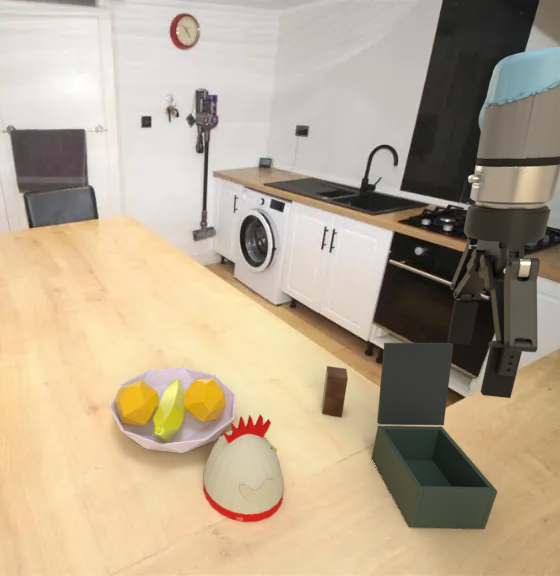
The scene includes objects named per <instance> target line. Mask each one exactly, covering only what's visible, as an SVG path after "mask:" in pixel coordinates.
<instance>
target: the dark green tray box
mask: <svg viewBox="0 0 560 576" xmlns="http://www.w3.org/2000/svg"><path fill="white" fill-rule="evenodd" d="M371 458H372V459H371V461H372V460H373V461H372V463H373V462H374V463H375V465H376V466H375V465H374V466H375V468H376V467H377V468H376V470H377V469H378V470H377V472H378V471H379V472H378V474H379V473H380V474H381V476H382V477H381V476H380V477H381V479H382V478H383V479H382V481H383V480H384V481H383V483H384V482H385V483H384V485H385V484H386V485H387V486H386V485H385V486H386V488H387V487H388V488H387V490H388V489H389V490H388V492H389V491H390V492H391V494H392V495H391V494H390V495H391V497H392V496H393V497H392V499H393V498H394V499H393V501H394V500H395V501H394V502H396V503H397V504H396V503H395V504H396V506H397V505H398V506H397V508H398V507H399V508H398V510H399V509H400V510H399V512H400V511H401V512H400V513H401V515H402V517H403V516H404V517H403V519H404V518H405V519H404V521H405V520H406V521H405V523H406V525H407V526H408V528H411V527H412V528H415V529H416V528H417V529H457V530H458V529H460V530H462V529H463V530H486V527H487V524H488V521H489V518H490V515H491V512H492V510H493V508H494V507H493V506H494V503H495V501H496V497H497V495H498V489H496V488H495V486H494V485H493V484H492V483H491V481H489V479H488V478H487V477H486V476H485V475H484V474H483V472H482V471H481V470H480V469H479V468H478V466H477V465H476V464H475V463H474V462H473V461H472V460H471V458H470V457H469V456H468V455H467V454H466V452H464V450H463V449H462V448H461V447H460V446H459V445H458V443H457V442H456V441H455V440H454V439H453V438H452V436H451V435H450V434H449V433H448V432H447V430H446V429H445V428H444V427H443V426H436V425H377V427H376V431H375V438H374V443H373V448H372V454H371ZM374 463H373V464H374ZM380 474H379V475H380ZM390 492H389V493H390Z"/></svg>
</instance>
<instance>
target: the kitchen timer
mask: <svg viewBox="0 0 560 576" xmlns="http://www.w3.org/2000/svg"><path fill="white" fill-rule="evenodd" d="M271 423H272V422H271V420H270V419H269V418H268V419H267V420H266V421H264V417H263V416H262V414H259V415H258V417H257V420H256V422H255V424H254V421H253V418H252V416H251V414H249V415H248V419H247V422H246V424H245V420H244V418H243V417H242V415H241V416H240V417H239V421H238V425H237V427H236V426H235V425H234V423H232V422H231V423H230V427H231V430H229V431H227V432H226V431H225V430H222V431H223V432H222V434H223V435H220V436H219V437H218V438H217V441H216V442H215V444H214V445H213V447H212V449H211V451H210V454H209V456H208V458H207V461H206V462H205V463H206V464H205V466H204V469H203V492H204V495H205V499H206V500H207V501H208V503H209V505H211V507H212V508H213V509H214V510H215V511H216V512H218V513H219V514H220V515H222V516H224V517H227V518H228V519H231V520H233V521H239V522H242V523H243V522H244V523H251V522H259V521H262V520H266V519H269V518H270V517H271V516H273V514H275V513H277V512H278V510H279V508H280V507H281V505H282V503H283V498H284V497H283V496H284V491H285V490H284V489H285V483H284V476H283V471H282V467H281V464H280V461H279V457H278V455H277V452H278V449H277V448H276V447H275V446H273V445H272V444H271V442H270V441H269V440H268V439H267V437H265V435H266V433H267V432H268V431H269V429H270V426H271Z"/></svg>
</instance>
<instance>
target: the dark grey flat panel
mask: <svg viewBox="0 0 560 576" xmlns="http://www.w3.org/2000/svg"><path fill="white" fill-rule="evenodd" d="M453 350H454V344H453V343H448V342H383V350H382V351H383V353H382V364H381V374H380V385H379V398H378V406H377V407H378V409H377V420H376V423H377V424H378V426H444V425H445V417H446V410H447V401H448V395H449V394H448V393H449V386H450V385H449V384H450V377H451V369H452V359H453V352H454V351H453Z"/></svg>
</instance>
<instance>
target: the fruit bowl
mask: <svg viewBox="0 0 560 576" xmlns="http://www.w3.org/2000/svg"><path fill="white" fill-rule="evenodd" d="M108 408H109V410H110V413H111V414H112V416H113V418H114V421H115V422H116V424H117V427H118V428H119V431H120V432H122V433H124V435H126V436H127V437H129V438H130V439H131V440H133V441H134V442H136V443H137V444H139V446H141V447H142V448H144V449H145V450H152V451H161V452H172V453H179V454H184V453H187V452H189V451H192V450H194V449H197V448H199V447H202V446H206V445H208V444H210V443H213V442H215V441H216V440H218V438H219V437H220V436H221V435H222V434H223V431H222V430H224V431H225V430H226V429H227V428H228V427H229V426H230V425H231V423H232V422H233V421H234V420H235V411H236V393H235V392H234V391H233V390H232V389H231V388H230V387H229V386H228V385H227V384H225V383H224V382H223V381H222V380H221V379H220V378H219V377H217V375H216V374H211V373H209V372H204V371H200V370H197V369H193V368H189V367H186V366H185V367H184V366H180V367H179V366H178V367H169V368H157V369H156V368H155V369H148V370H146V371H143V372H142V373H140V374H138V375H136V376H135V377H132V378H130V379H128V380H126V381H125V382H124V381H123V383H120V385H119V387H118V388H117V390H116V393H115V394H114V397H113V398H112V401H111V402H110V405H109V406H108Z"/></svg>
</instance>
